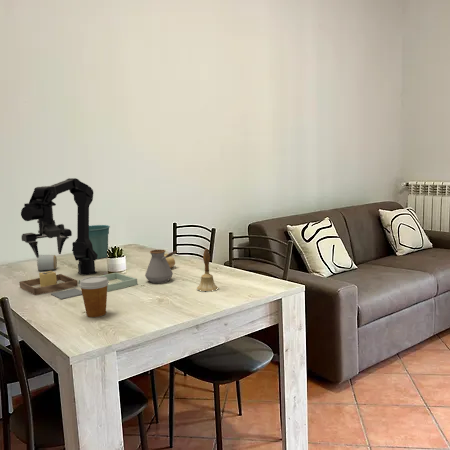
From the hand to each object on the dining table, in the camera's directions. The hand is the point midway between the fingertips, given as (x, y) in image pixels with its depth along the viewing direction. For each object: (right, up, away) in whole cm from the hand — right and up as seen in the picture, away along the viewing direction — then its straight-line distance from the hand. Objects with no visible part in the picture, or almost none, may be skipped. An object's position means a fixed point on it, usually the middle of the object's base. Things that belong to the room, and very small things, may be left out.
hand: (48, 255), depth 200 cm
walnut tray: (-1, -13, +2) cm, 13 cm away
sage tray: (+24, -12, +1) cm, 27 cm away
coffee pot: (+47, -12, +2) cm, 49 cm away
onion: (+45, -8, +29) cm, 54 cm away
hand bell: (+65, -13, -9) cm, 67 cm away
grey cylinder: (-13, -9, +35) cm, 38 cm away
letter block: (-1, -13, +2) cm, 13 cm away
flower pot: (+4, -5, +60) cm, 60 cm away
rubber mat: (+11, -14, -10) cm, 21 cm away
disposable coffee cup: (+29, -18, -36) cm, 49 cm away
